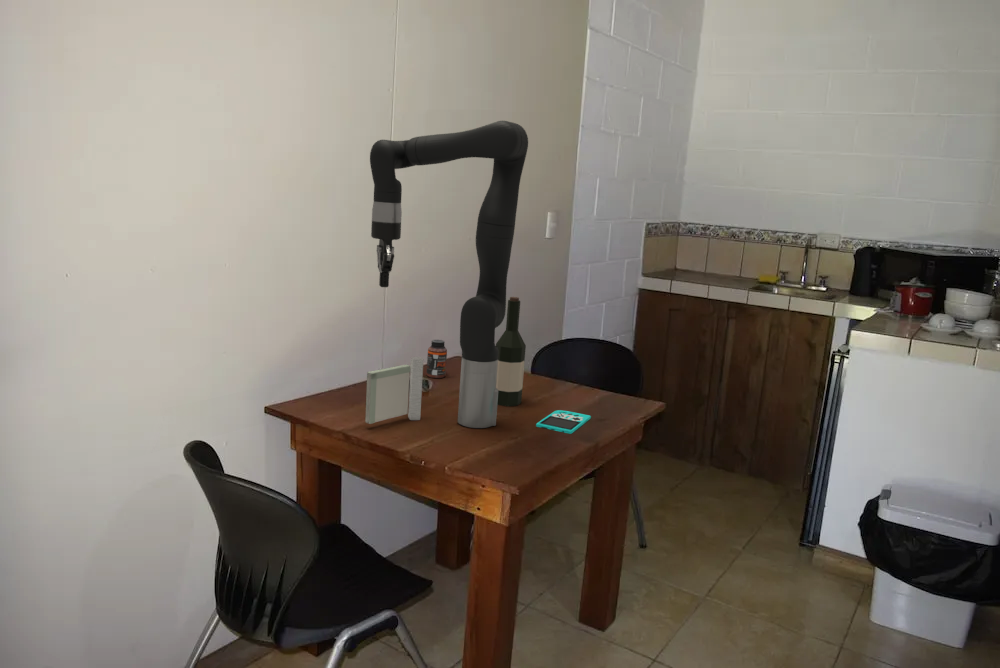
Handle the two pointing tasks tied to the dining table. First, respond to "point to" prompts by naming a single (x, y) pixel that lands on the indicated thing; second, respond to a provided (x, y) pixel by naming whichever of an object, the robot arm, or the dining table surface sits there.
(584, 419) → the handheld game console
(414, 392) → the post
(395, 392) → the beige and green panel
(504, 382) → the wine bottle
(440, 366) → the supplement bottle
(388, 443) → the dining table surface
